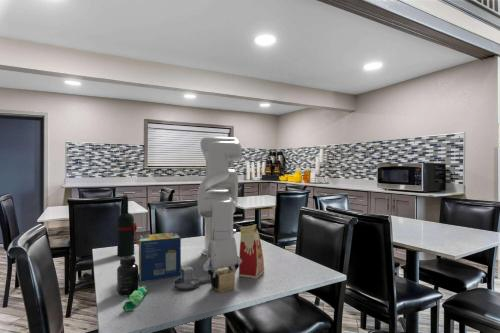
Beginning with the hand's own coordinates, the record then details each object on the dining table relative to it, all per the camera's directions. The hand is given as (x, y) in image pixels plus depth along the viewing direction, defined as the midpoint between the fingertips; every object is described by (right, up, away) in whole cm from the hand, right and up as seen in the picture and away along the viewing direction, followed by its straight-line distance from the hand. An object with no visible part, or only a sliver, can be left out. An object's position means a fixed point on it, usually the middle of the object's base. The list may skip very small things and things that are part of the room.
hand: (223, 284), depth 106 cm
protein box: (-27, -2, +14) cm, 30 cm away
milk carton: (+10, -1, +15) cm, 18 cm away
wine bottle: (-51, -2, +42) cm, 66 cm away
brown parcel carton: (0, -1, 0) cm, 1 cm away
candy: (-27, -2, -11) cm, 29 cm away
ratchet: (-7, -1, +6) cm, 10 cm away
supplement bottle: (-33, -2, -3) cm, 33 cm away
